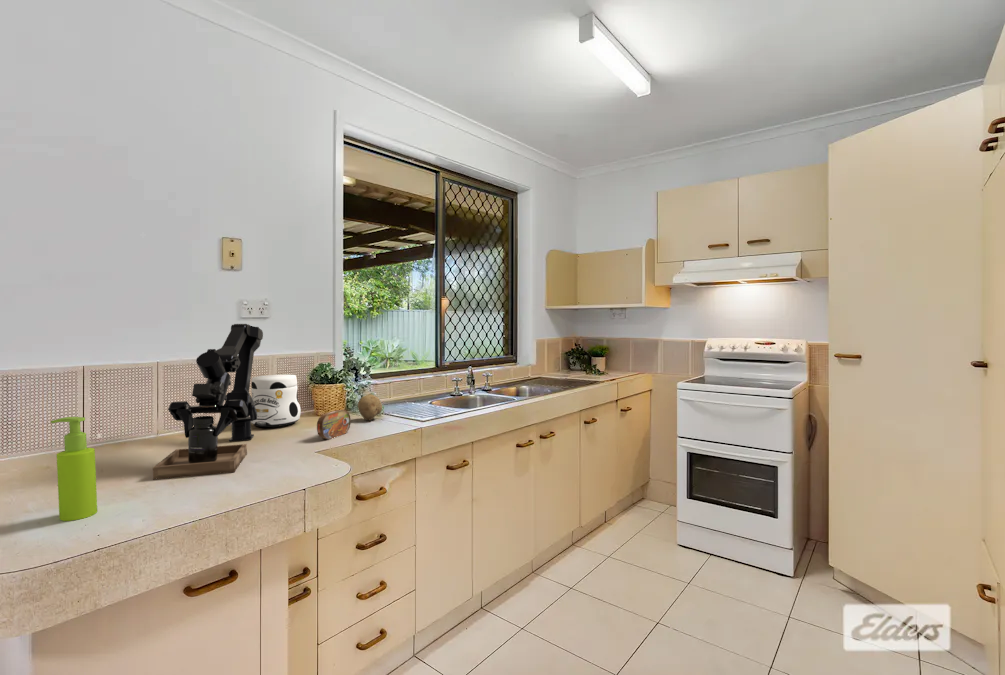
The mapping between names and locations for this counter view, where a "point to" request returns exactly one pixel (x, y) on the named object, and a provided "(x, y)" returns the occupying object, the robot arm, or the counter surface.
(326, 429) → the tin
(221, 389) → the robot arm
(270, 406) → the milk container
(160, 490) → the counter surface
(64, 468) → the soap dispenser
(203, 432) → the supplement bottle
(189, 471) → the walnut tray
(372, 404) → the brown potato
